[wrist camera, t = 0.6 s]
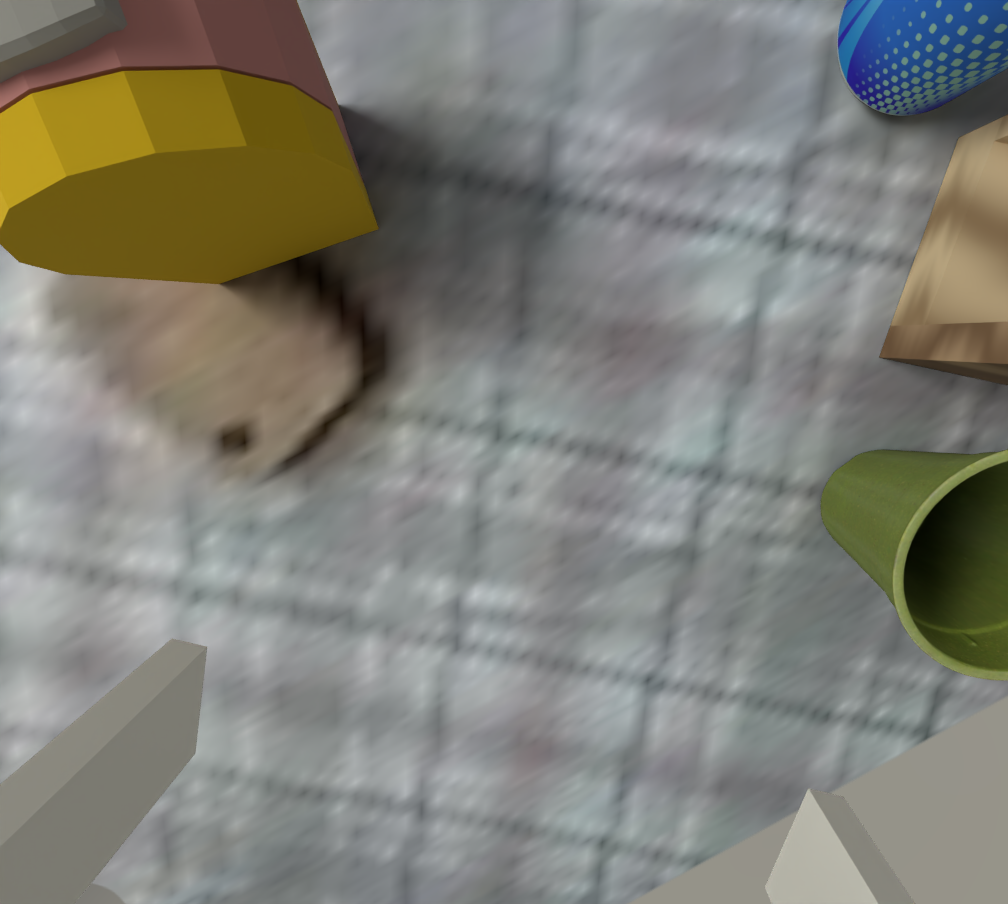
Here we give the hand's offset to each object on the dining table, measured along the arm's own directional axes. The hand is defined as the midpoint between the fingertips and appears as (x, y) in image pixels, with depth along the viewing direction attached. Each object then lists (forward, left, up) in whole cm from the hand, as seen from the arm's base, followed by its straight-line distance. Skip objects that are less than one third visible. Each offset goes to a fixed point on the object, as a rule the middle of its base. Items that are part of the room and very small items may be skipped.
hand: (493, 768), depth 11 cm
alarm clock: (-14, -19, -26) cm, 36 cm away
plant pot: (-3, +24, -26) cm, 36 cm away
